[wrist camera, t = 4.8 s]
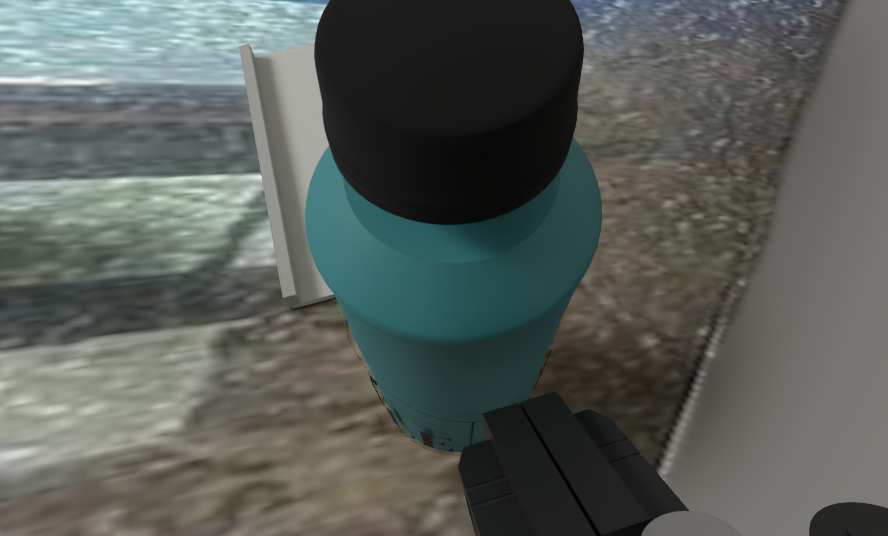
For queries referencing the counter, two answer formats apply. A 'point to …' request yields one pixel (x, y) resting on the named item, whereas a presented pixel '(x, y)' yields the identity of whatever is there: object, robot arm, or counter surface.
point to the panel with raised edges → (288, 159)
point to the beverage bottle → (451, 198)
